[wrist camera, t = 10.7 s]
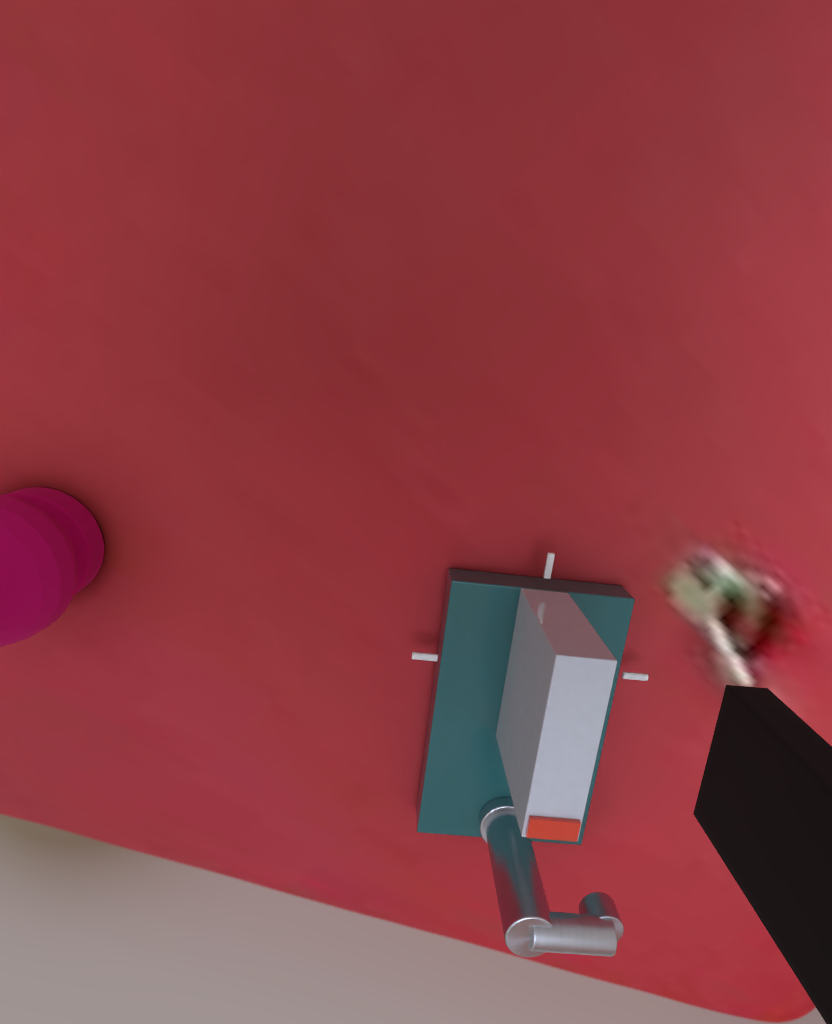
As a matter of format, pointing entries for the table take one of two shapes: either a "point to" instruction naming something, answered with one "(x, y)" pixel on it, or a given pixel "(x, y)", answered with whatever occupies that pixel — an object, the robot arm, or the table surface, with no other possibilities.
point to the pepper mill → (43, 558)
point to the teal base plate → (492, 690)
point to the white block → (552, 713)
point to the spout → (540, 896)
